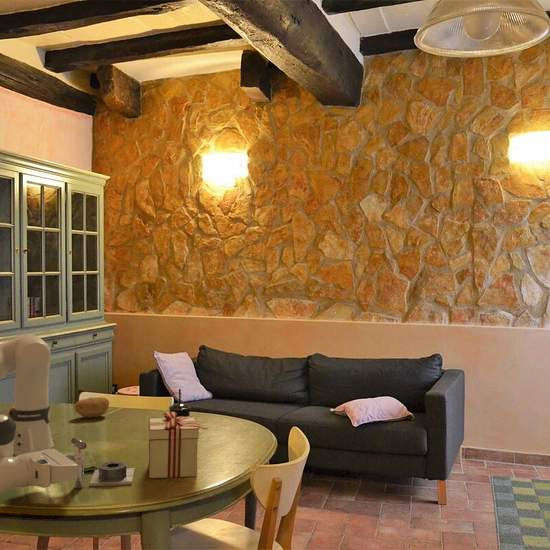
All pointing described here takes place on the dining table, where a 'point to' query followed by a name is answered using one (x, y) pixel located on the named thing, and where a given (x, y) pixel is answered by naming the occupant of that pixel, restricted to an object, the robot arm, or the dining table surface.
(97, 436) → the dining table surface
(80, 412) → the potato
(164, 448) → the gift box
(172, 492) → the dining table surface
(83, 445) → the chuck key
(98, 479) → the chuck socket
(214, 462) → the dining table surface
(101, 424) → the dining table surface
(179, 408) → the drinking cup
